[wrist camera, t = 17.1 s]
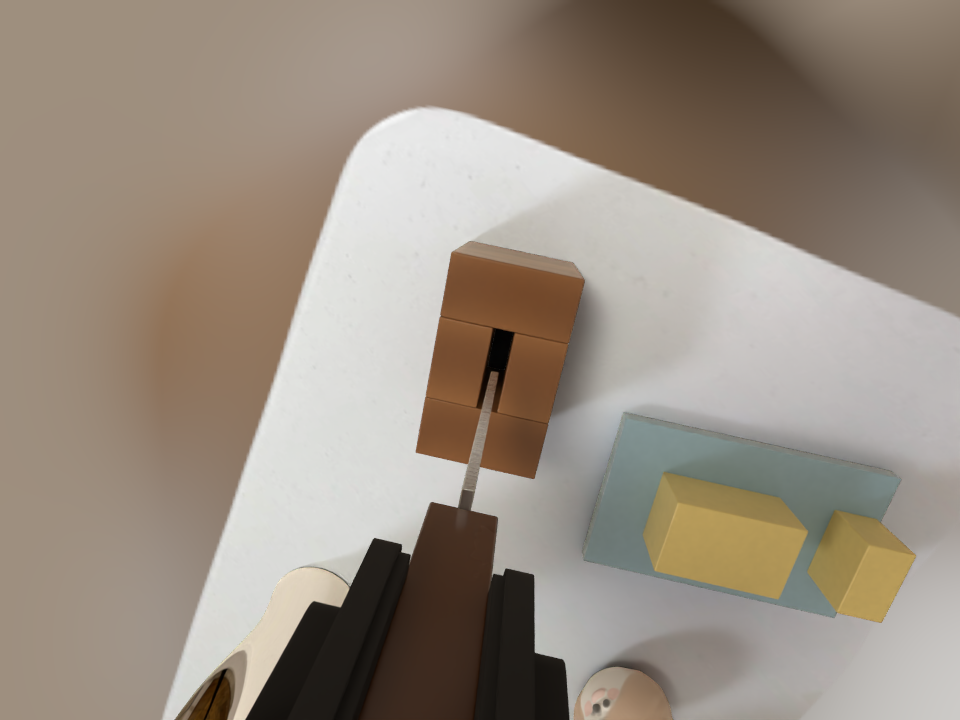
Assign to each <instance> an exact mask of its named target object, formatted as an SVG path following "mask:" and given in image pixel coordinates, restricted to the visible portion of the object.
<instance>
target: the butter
mask: <svg viewBox="0 0 960 720" xmlns="http://www.w3.org/2000/svg"><path fill="white" fill-rule="evenodd" d="M807 534H808V530H807V529H806V528H805V527H804V526H803V524H802V523H801V522H800V521H799V520H798V519H797V517H796V516H795V515H794V514H793V513H792V511H791V510H790V509H789V508H788V507H787V505H786V504H785V503H784V502H783V501H782V499H781V498H779V497H775V496H770V495H766V494H761V493H757V492H752V491H748V490H743V489H739V488H734V487H730V486H725V485H721V484H716V483H712V482H708V481H703V480H699V479H694V478H690V477H685V476H681V475H676V474H672V473H667V472H663V475H662V478H661V481H660V484H659V487H658V490H657V493H656V496H655V499H654V502H653V505H652V508H651V511H650V514H649V517H648V520H647V523H646V526H645V529H644V532H643V538H644V541H645V544H646V547H647V550H648V553H649V556H650V559H651V562H652V565H653V568H654V571H656V572H661V573H665V574H669V575H674V576H678V577H682V578H687V579H691V580H695V581H700V582H704V583H708V584H713V585H717V586H722V587H726V588H730V589H735V590H739V591H743V592H748V593H752V594H756V595H761V596H765V597H769V598H774V599H779V598H780V595H781V593H782V591H783V589H784V586H785V584H786V582H787V579H788V577H789V575H790V573H791V570H792V568H793V566H794V563H795V561H796V559H797V557H798V554H799V552H800V550H801V548H802V545H803V543H804V541H805V538H806V536H807Z"/></svg>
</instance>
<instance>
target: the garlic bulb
mask: <svg viewBox="0 0 960 720" xmlns="http://www.w3.org/2000/svg"><path fill="white" fill-rule="evenodd" d="M574 720H673V718H672V714H671V708H670V705H669V702H668V700H667V699H666V697H665V695H664V693H663V691H662V689H661V687H660V686H659V685H658V684H657V683H656V682H655V681H654V680H652V679H651V678H650V677H648V676H647V675H646V674H644V673H643V672H641V671H638V670H633V669H627V668H623V667H610V668H606V669H603V670H601V671H599V672H597V673H596V674H594V675H593V676H592V677H591V678H590V679H589V680H588V682H587V683H586V685H585V687H584V689H583V690H582V691H581V693H580V694H579V696H578V698H577V701H576V704H575V708H574Z"/></svg>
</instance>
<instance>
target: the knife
mask: <svg viewBox="0 0 960 720" xmlns="http://www.w3.org/2000/svg"><path fill="white" fill-rule="evenodd" d="M498 374H499V373H498V372H493V371H491V374H490V378H489V382H488V386H487V390H486V394H485V398H484V402H483V406H482V410H481V414H480V418H479V422H478V426H477V430H476V434H475V438H474V442H473V446H472V450H471V454H470V458H469V462H468V467H467V471H466V475H465V479H464V483H463V487H462V491H461V496H460V501H459V505H458V508H456V507H452V506H447V505H443V504H438V503H434V502H431V503H430V504H429V507H428V510H427V513H426V516H425V519H424V522H423V525H422V528H421V531H420V534H419V537H418V539H417V542H416V545H415V548H414V551H413V554H412V557H411V560H410V563H409V568H408V573H407V576H406V579H405V582H404V585H403V588H402V591H401V594H400V597H399V600H398V603H397V606H396V609H395V612H394V615H393V618H392V620H391V623H390V626H389V629H388V632H387V635H386V638H385V641H384V644H383V647H382V650H381V653H380V656H379V659H378V662H377V665H376V668H375V671H374V674H373V677H372V679H371V682H370V685H369V688H368V691H367V694H366V697H365V700H364V703H363V706H362V709H361V712H360V715H359V718H358V720H474V715H475V707H476V698H477V689H478V681H479V672H480V663H481V655H482V646H483V637H484V629H485V620H486V611H487V603H488V594H489V589H490V585H491V579H492V570H493V561H494V552H495V543H496V534H497V524H498V518H497V517H496V516H491V515H487V514H482V513H478V512H474V511H471V507H472V503H473V498H474V493H475V489H476V484H477V479H478V474H479V469H480V464H481V459H482V454H483V449H484V444H485V439H486V434H487V429H488V424H489V419H490V414H491V409H492V404H493V399H494V394H495V389H496V384H497V379H498Z"/></svg>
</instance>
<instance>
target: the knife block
mask: <svg viewBox="0 0 960 720" xmlns="http://www.w3.org/2000/svg"><path fill="white" fill-rule="evenodd" d="M584 283H585V280H584V278H583V277H582V275H581V274H580V272H579V271H578V269H577V268H576V266H575V265H574V263H573V262H568V261H563V260H558V259H554V258H549V257H544V256H539V255H535V254H530V253H525V252H520V251H516V250H511V249H506V248H501V247H497V246H492V245H487V244H482V243H478V242H473V241H469V242H468V243H466V244H464V245H463V246H461V247H459V248H458V249H456V250H454V251H453V252H452V253H451V258H450V263H449V269H448V275H447V280H446V286H445V291H444V297H443V302H442V308H441V314H440V315H441V317H440V319H439V324H438V330H437V335H436V341H435V346H434V352H433V358H432V363H431V369H430V374H429V380H428V385H427V391H426V397H425V402H424V408H423V413H422V419H421V424H420V430H419V435H418V441H417V447H416V453H420V454H424V455H429V456H433V457H438V458H442V459H447V460H451V461H456V462H460V463H464V464H468V462H469V458H470V454H471V450H472V446H473V442H474V438H475V434H476V430H477V426H478V422H479V418H480V414H481V410H482V406H483V402H484V398H485V394H486V390H487V386H488V382H489V378H490V374H491V371H493V372H498V373H499V374H498V379H497V384H496V389H495V394H494V399H493V404H492V409H491V414H490V419H489V424H488V429H487V434H486V439H485V444H484V449H483V454H482V459H481V464H480V467H482V468H487V469H491V470H496V471H500V472H504V473H509V474H513V475H518V476H522V477H527V478H531V479H534V478H535V475H536V471H537V467H538V463H539V459H540V455H541V451H542V447H543V443H544V440H545V436H546V432H547V428H548V423H549V420H550V416H551V412H552V408H553V404H554V400H555V396H556V392H557V389H558V385H559V381H560V377H561V373H562V369H563V365H564V361H565V357H566V353H567V349H568V343H569V341H570V337H571V334H572V330H573V326H574V322H575V318H576V314H577V310H578V306H579V302H580V298H581V294H582V291H583V287H584ZM496 328H497V329H501V330H506V331H511V332H513V334H512V338H511V343H510V347H509V352H508V356H507V360H506V365H505V370H503V369H498V368H493V367H489V366H488V364H489V360H490V355H491V350H492V345H493V341H494V336H495V331H496Z"/></svg>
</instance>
